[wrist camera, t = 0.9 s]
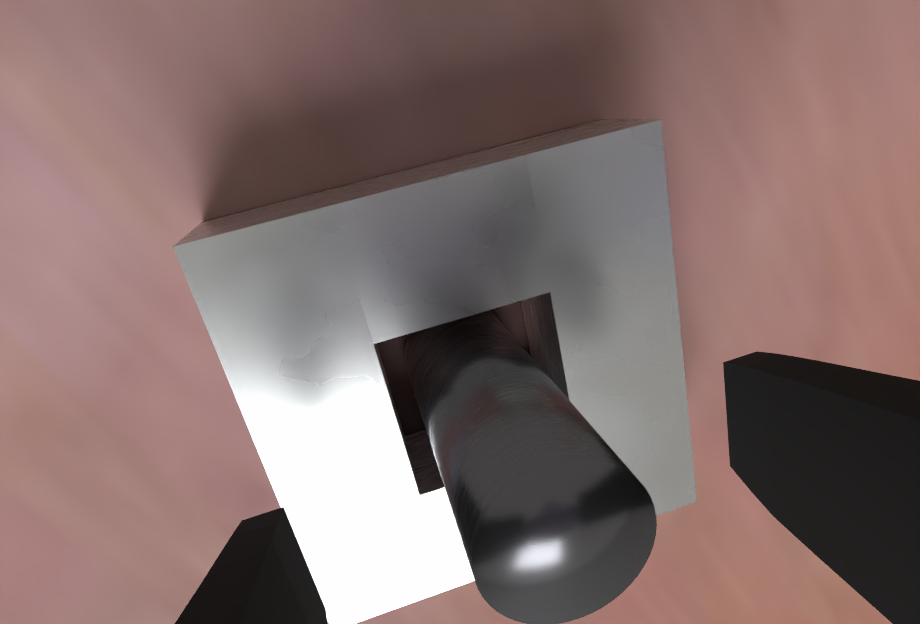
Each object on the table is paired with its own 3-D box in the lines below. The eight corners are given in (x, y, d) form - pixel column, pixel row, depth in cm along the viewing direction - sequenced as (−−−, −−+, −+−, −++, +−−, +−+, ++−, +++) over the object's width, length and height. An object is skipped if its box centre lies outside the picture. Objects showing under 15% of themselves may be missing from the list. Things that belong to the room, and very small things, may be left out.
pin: (496, 288, 14) (645, 434, 7) (516, 381, 15) (665, 586, 8) (391, 318, 14) (451, 500, 7) (418, 412, 14) (494, 649, 8)
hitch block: (601, 119, 13) (660, 119, 11) (643, 447, 16) (696, 501, 14) (201, 222, 12) (172, 246, 10) (331, 553, 15) (332, 631, 13)
